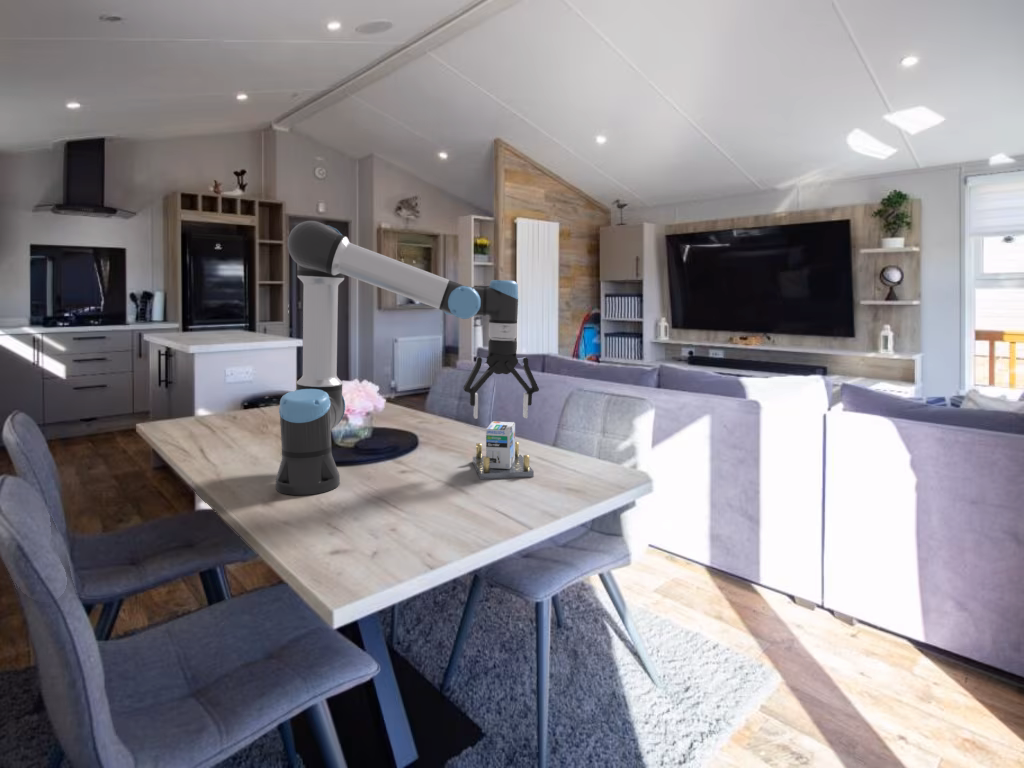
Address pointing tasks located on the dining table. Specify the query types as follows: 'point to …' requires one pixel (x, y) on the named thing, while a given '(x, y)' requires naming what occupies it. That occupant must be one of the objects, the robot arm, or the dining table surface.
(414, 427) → the dining table surface
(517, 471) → the chassis
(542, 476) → the dining table surface
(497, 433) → the light bulb box
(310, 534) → the dining table surface
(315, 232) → the robot arm
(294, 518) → the dining table surface
